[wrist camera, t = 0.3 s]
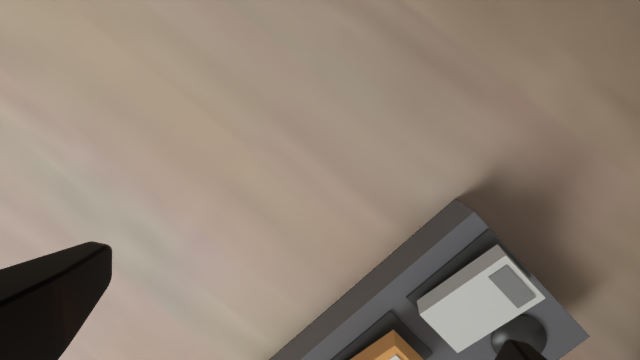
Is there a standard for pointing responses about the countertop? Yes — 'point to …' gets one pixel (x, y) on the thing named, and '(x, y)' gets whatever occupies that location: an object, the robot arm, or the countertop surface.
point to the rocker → (478, 299)
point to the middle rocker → (389, 349)
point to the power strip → (416, 281)
